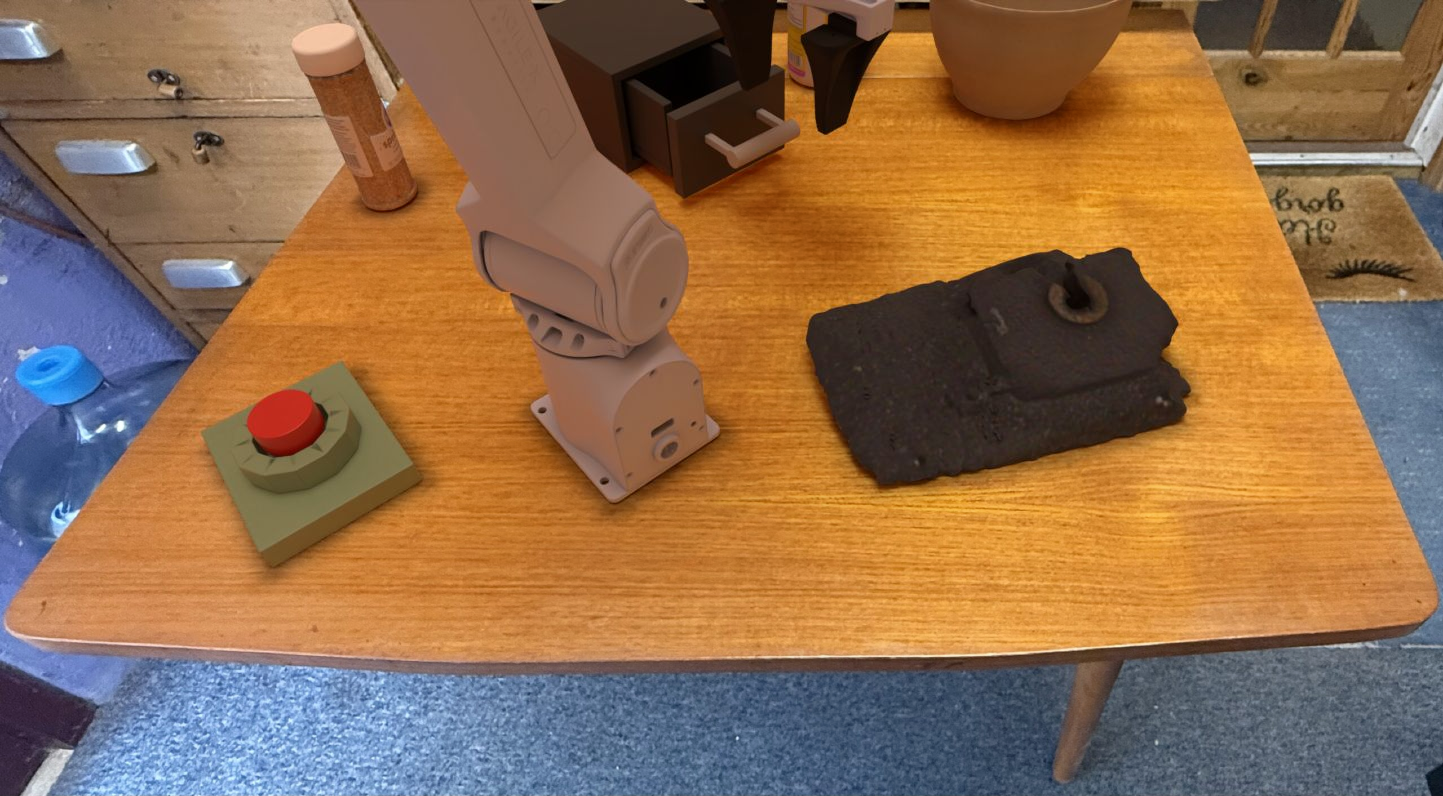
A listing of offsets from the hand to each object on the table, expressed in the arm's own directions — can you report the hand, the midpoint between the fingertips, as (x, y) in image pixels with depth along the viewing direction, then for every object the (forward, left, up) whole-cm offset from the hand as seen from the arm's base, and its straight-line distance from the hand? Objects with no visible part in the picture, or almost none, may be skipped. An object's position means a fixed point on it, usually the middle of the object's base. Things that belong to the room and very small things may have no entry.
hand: (792, 105), depth 56 cm
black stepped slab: (-19, +1, -10) cm, 22 cm away
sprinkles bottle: (+25, +22, -10) cm, 34 cm away
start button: (+2, +37, -6) cm, 37 cm away
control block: (+2, +37, -10) cm, 38 cm away
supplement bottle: (+15, -17, -10) cm, 25 cm away
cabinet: (+21, 0, -10) cm, 23 cm away
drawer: (+11, 0, -9) cm, 14 cm away
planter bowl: (+1, -26, -10) cm, 28 cm away
